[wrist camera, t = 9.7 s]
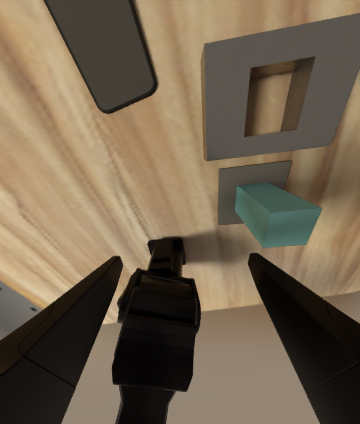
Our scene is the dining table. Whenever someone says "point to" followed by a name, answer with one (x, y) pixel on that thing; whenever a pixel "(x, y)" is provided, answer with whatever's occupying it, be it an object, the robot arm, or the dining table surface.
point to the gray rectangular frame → (298, 92)
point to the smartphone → (106, 49)
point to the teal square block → (275, 215)
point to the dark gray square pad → (245, 176)
